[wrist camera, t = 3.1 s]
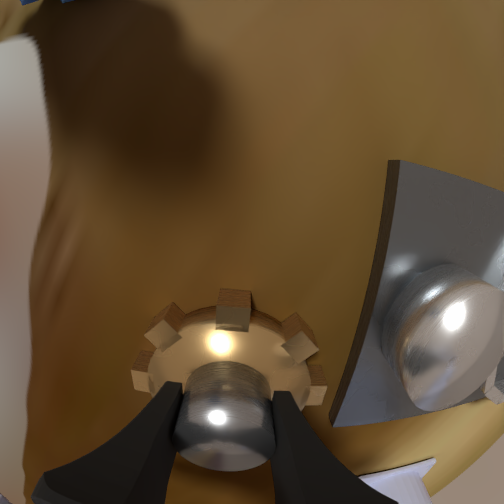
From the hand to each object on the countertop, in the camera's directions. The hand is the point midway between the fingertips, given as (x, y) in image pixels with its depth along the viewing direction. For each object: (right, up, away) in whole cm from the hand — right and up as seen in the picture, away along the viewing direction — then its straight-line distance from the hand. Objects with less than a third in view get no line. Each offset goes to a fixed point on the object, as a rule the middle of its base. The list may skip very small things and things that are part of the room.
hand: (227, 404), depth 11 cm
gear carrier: (+16, +3, +2) cm, 16 cm away
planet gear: (0, +1, +2) cm, 2 cm away
